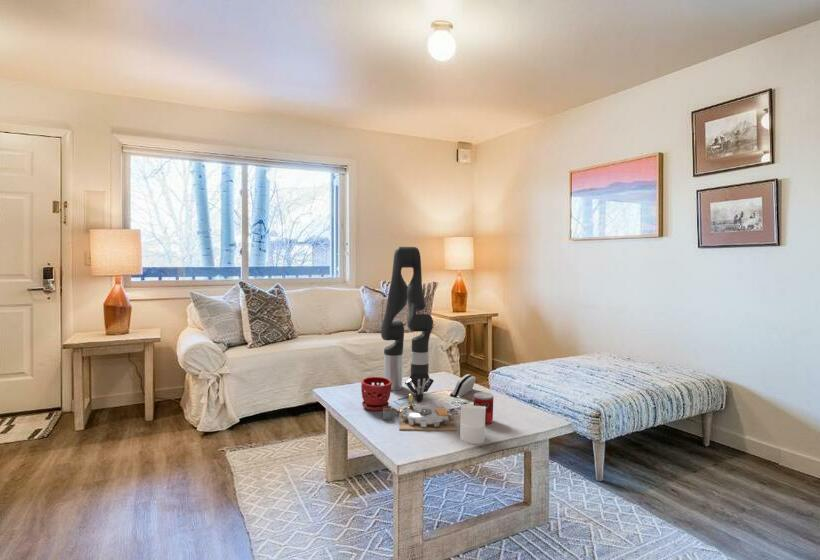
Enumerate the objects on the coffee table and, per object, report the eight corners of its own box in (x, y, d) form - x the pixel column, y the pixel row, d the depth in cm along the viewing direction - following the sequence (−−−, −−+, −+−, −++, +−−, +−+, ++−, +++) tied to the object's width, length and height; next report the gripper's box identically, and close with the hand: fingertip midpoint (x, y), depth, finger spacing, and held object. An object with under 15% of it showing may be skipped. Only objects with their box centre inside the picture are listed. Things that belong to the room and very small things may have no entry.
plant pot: (359, 412, 199) (359, 384, 198) (363, 402, 212) (363, 375, 211) (390, 413, 198) (390, 385, 197) (392, 402, 211) (392, 376, 210)
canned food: (469, 420, 192) (469, 394, 191) (482, 416, 197) (483, 390, 196) (483, 426, 186) (484, 399, 185) (496, 421, 191) (497, 395, 190)
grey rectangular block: (383, 415, 196) (383, 405, 196) (391, 415, 196) (391, 405, 196) (382, 420, 190) (382, 410, 190) (390, 420, 190) (391, 410, 190)
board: (399, 410, 202) (399, 408, 202) (450, 410, 203) (450, 408, 203) (399, 430, 180) (399, 428, 180) (456, 430, 181) (456, 428, 181)
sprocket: (390, 418, 190) (391, 399, 189) (421, 405, 206) (421, 387, 205) (432, 431, 177) (432, 410, 177) (460, 416, 193) (461, 397, 193)
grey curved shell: (463, 387, 237) (470, 369, 234) (471, 391, 235) (478, 374, 232) (449, 396, 222) (456, 377, 220) (457, 401, 220) (464, 382, 218)
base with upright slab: (459, 442, 170) (460, 410, 170) (461, 432, 179) (461, 401, 178) (484, 444, 169) (485, 412, 168) (484, 434, 178) (485, 403, 177)
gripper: (429, 358, 203) (428, 397, 204) (401, 361, 197) (401, 401, 198) (437, 362, 196) (437, 402, 197) (409, 365, 190) (408, 407, 191)
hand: (419, 402), depth 198 cm, fingers closed
